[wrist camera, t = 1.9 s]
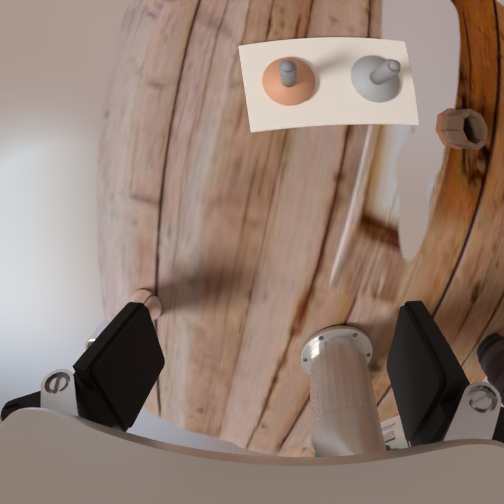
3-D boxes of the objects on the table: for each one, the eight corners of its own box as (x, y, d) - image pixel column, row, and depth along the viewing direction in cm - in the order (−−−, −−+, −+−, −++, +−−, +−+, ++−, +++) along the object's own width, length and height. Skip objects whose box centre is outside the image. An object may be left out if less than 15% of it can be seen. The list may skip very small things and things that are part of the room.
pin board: (400, 44, 26) (428, 22, 18) (414, 125, 31) (448, 123, 22) (240, 49, 30) (223, 23, 22) (252, 132, 35) (238, 129, 26)
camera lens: (502, 346, 41) (531, 390, 27) (475, 365, 43) (500, 413, 30) (502, 323, 39) (536, 368, 25) (473, 343, 42) (503, 394, 28)
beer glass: (130, 281, 46) (80, 331, 32) (166, 293, 46) (123, 350, 32) (130, 312, 49) (87, 364, 35) (163, 325, 49) (126, 382, 35)
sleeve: (471, 137, 29) (494, 139, 24) (447, 154, 31) (469, 158, 26) (454, 104, 28) (476, 101, 23) (430, 120, 30) (450, 118, 24)
